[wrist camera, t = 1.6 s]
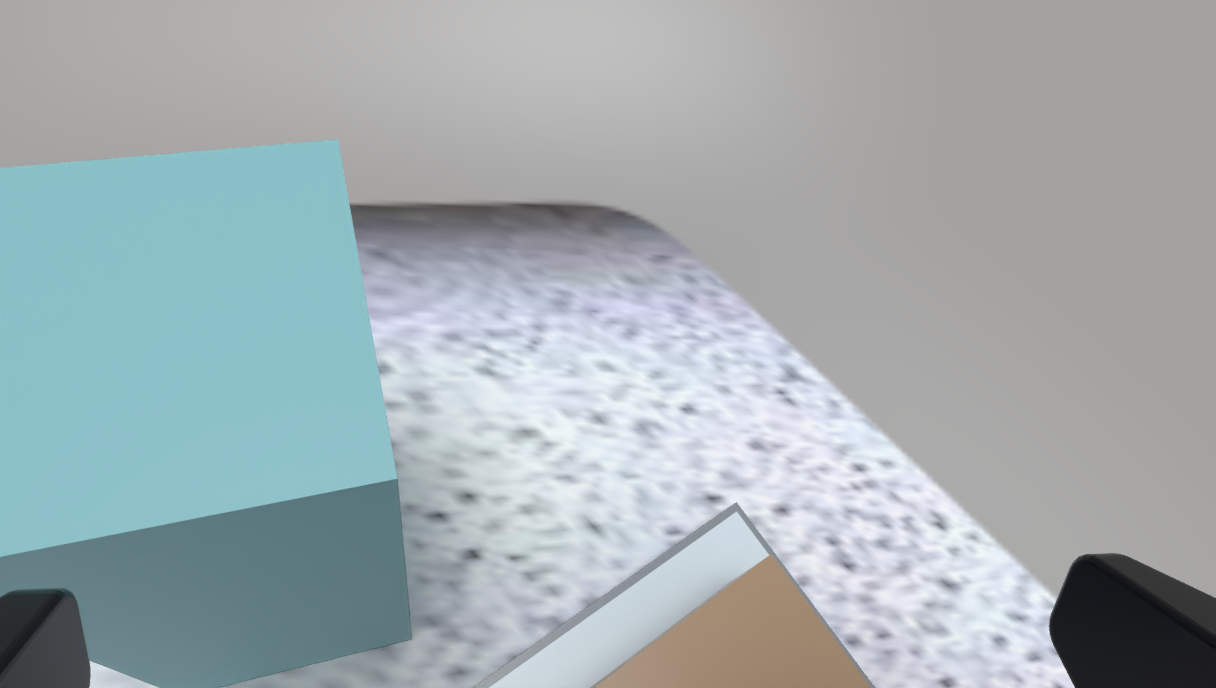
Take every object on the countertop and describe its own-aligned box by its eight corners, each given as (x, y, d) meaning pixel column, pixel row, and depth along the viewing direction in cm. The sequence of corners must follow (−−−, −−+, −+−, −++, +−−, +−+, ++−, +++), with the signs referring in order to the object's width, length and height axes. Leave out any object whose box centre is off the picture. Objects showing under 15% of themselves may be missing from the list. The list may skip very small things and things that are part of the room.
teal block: (411, 639, 20) (397, 478, 10) (183, 696, 19) (-118, 579, 8) (378, 444, 22) (338, 139, 12) (170, 483, 21) (-86, 176, 10)
